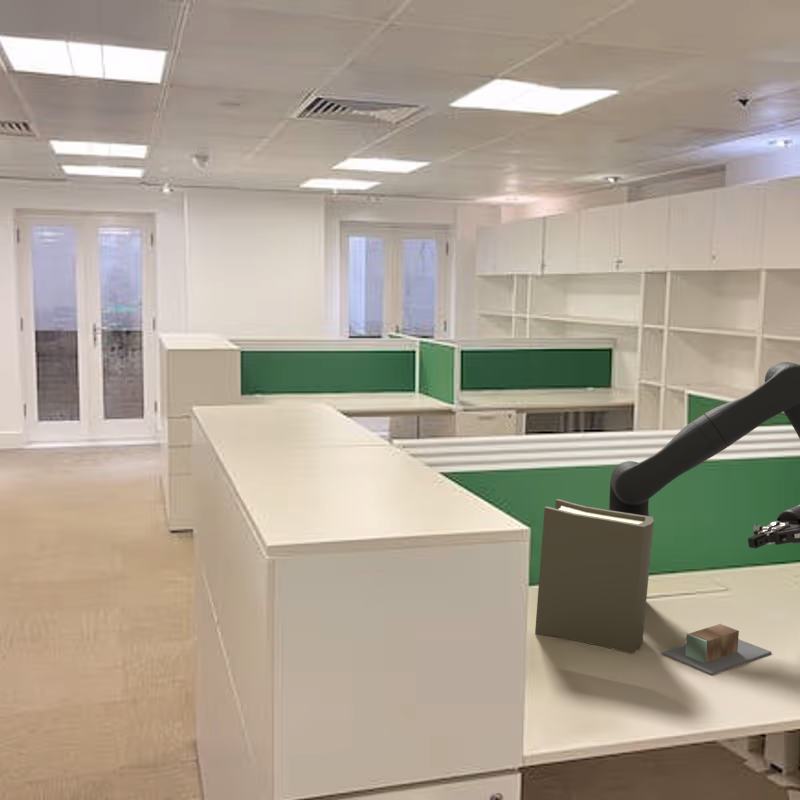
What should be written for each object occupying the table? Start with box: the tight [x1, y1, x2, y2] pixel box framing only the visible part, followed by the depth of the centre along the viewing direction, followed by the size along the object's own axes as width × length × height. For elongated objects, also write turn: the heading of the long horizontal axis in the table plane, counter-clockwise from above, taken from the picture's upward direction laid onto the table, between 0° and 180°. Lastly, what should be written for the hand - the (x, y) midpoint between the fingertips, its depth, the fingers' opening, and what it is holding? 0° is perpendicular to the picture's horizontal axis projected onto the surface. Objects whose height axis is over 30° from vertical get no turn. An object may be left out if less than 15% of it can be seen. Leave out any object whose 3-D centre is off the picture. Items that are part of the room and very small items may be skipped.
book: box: [534, 498, 655, 654], centre depth 193 cm, size 22×9×28 cm, turn 63°
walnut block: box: [685, 623, 740, 663], centre depth 186 cm, size 4×4×11 cm
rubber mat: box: [661, 638, 772, 676], centre depth 187 cm, size 20×12×1 cm, turn 125°
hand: (751, 543), depth 194 cm, fingers closed
